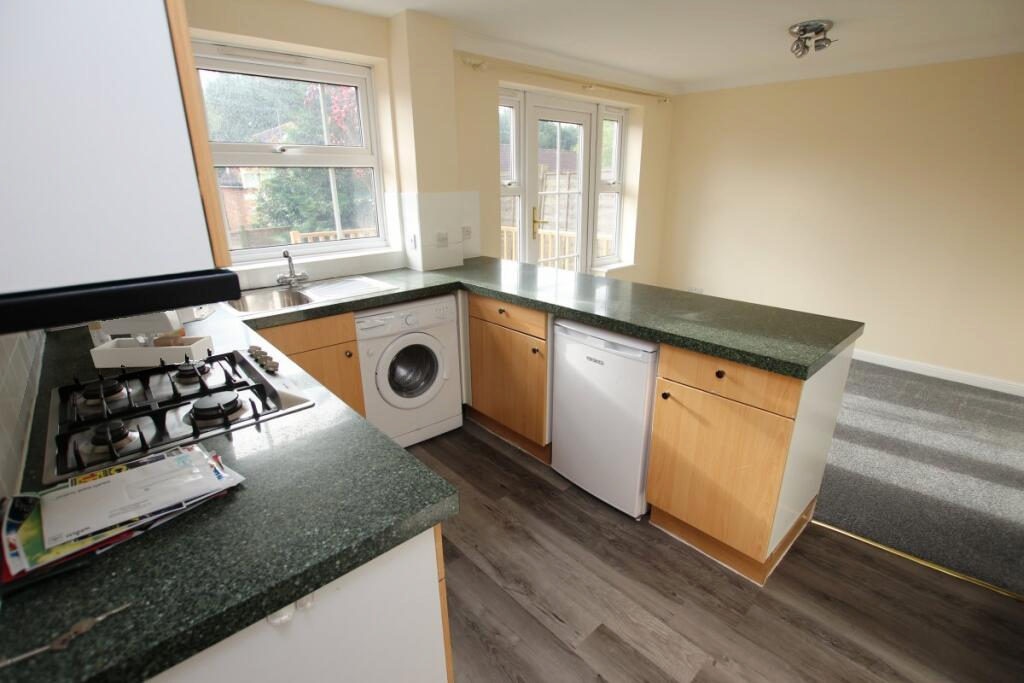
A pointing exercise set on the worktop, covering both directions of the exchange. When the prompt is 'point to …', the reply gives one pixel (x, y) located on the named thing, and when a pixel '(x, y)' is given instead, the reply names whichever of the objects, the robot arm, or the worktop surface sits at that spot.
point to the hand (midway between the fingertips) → (147, 347)
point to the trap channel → (149, 352)
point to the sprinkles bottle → (98, 334)
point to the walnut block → (168, 341)
